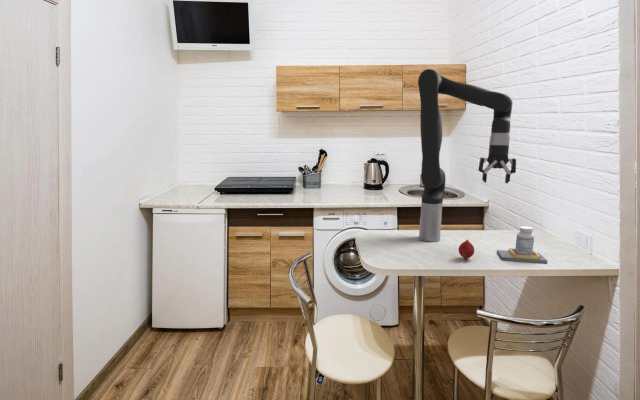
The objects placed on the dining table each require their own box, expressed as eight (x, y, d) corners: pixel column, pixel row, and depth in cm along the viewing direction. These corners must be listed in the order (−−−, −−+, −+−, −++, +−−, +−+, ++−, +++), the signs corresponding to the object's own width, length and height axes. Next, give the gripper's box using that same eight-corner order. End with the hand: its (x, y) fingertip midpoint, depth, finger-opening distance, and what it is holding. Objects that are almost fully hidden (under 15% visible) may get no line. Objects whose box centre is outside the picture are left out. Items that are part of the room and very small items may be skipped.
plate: (502, 260, 156) (502, 254, 155) (496, 252, 166) (497, 247, 165) (547, 263, 153) (547, 257, 152) (538, 255, 162) (539, 249, 162)
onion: (455, 257, 159) (456, 237, 157) (469, 256, 159) (470, 237, 158) (461, 261, 153) (463, 241, 152) (476, 261, 154) (477, 241, 152)
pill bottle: (518, 251, 163) (521, 225, 161) (534, 255, 159) (537, 227, 157) (512, 254, 159) (515, 227, 157) (528, 258, 155) (531, 230, 153)
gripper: (482, 143, 164) (479, 183, 167) (520, 144, 161) (516, 184, 164) (479, 143, 171) (476, 181, 174) (515, 144, 169) (511, 182, 171)
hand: (495, 182), depth 169 cm, fingers open, 8 cm apart
